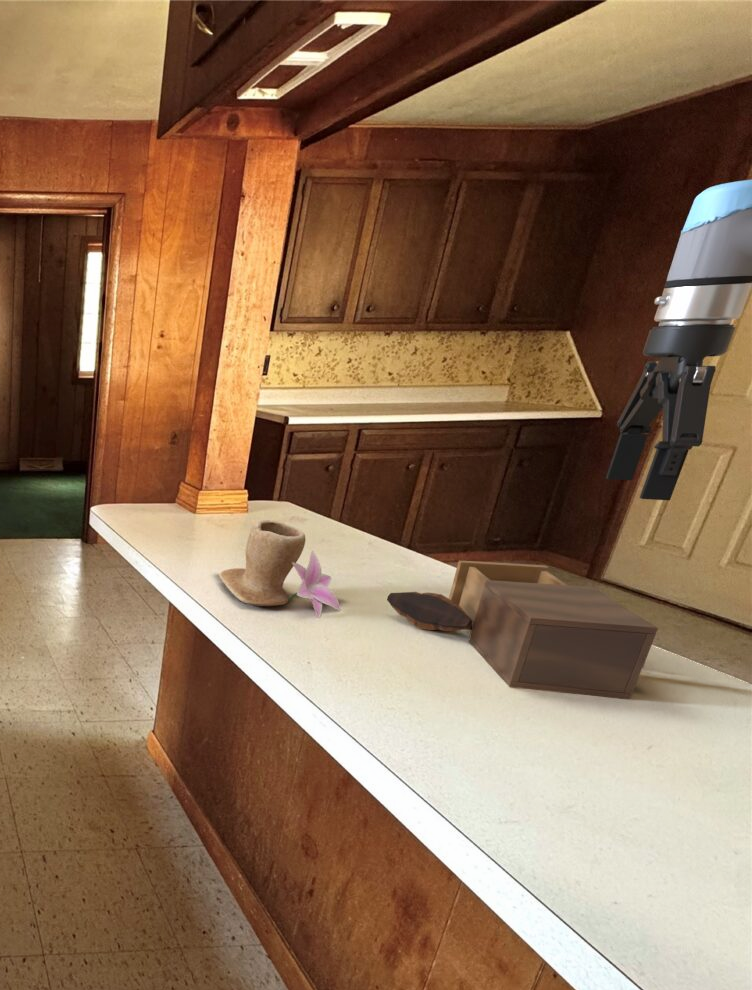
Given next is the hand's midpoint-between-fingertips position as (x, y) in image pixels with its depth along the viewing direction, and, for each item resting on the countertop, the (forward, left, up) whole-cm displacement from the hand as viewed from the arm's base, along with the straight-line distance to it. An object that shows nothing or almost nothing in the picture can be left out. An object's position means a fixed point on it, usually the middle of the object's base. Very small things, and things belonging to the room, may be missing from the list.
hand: (635, 489), depth 92 cm
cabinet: (+5, +5, -27) cm, 28 cm away
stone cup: (+46, -10, -27) cm, 54 cm away
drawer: (+8, -11, -26) cm, 29 cm away
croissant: (+20, -4, -22) cm, 30 cm away
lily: (+37, -7, -27) cm, 46 cm away
